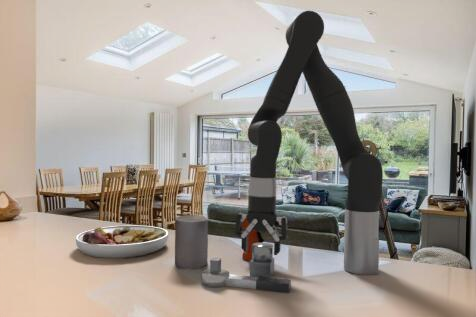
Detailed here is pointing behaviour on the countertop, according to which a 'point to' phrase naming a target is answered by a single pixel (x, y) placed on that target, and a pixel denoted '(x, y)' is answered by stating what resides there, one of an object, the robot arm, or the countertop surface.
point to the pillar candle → (191, 241)
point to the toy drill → (255, 238)
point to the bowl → (121, 241)
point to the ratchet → (241, 279)
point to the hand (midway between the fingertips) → (260, 252)
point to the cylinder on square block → (262, 260)
